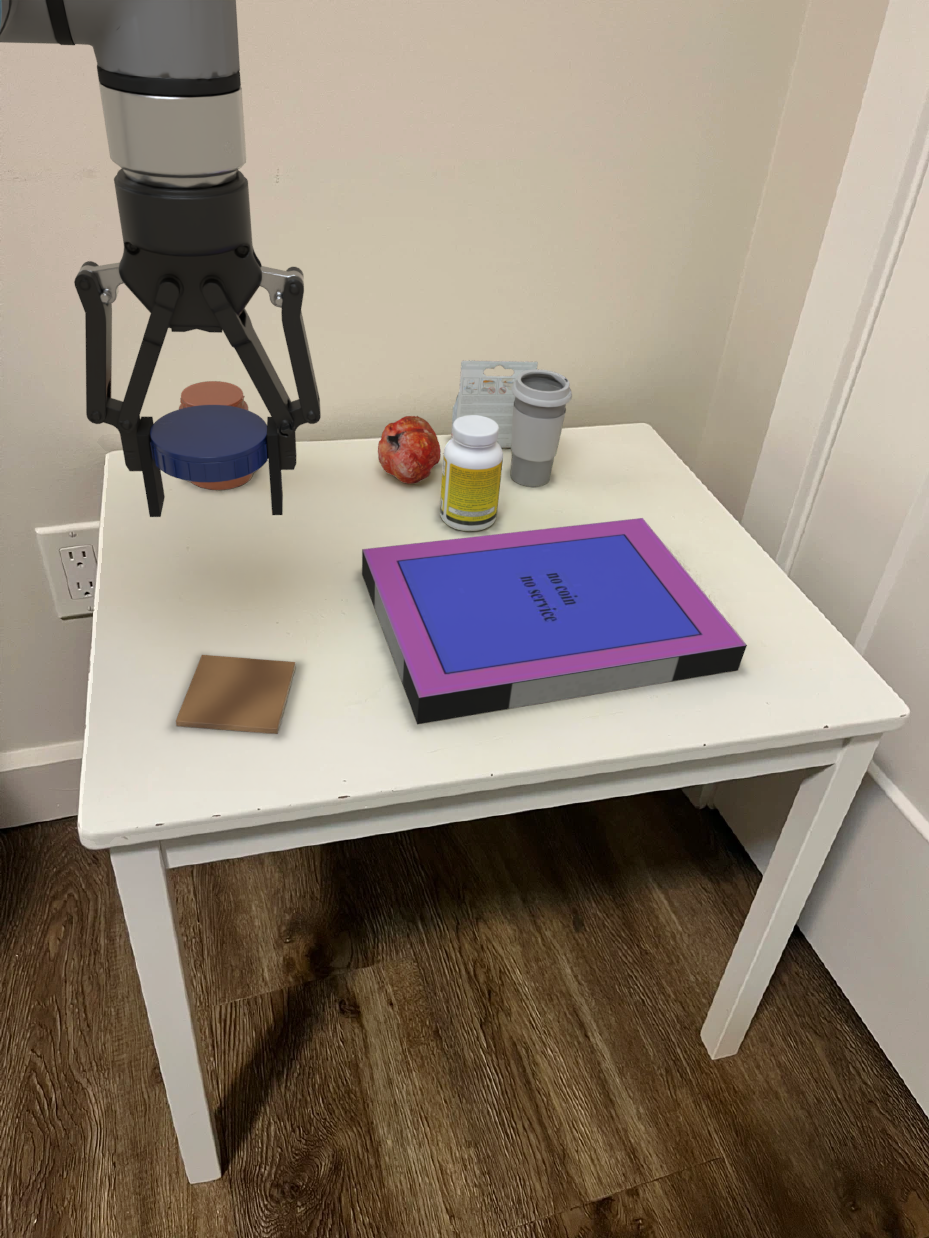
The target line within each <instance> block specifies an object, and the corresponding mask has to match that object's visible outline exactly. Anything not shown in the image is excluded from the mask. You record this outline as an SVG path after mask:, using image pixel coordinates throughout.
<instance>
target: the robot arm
mask: <svg viewBox="0 0 929 1238" xmlns="http://www.w3.org/2000/svg"><path fill="white" fill-rule="evenodd" d="M237 10H238V9H237V0H0V43H3V44H4V43H6V44H7V43H9V44H11V43H12V44H45V45H47V44H49V45H50V44H51V45H52V44H54V45H60V46H76V45H82V46H83V45H85V46H91V47H92V49H93V53H94V56H95V60H96V71H97V79H98V87H99V93H100V99H101V106H102V113H103V119H104V128H105V133H106V140H107V145H108V153H109V158H110V160H111V161H112V162H113V163H114V164H116V165H117V166H118V167H120V169H118V171H117V173H116V175H115V176H114V177H113V181H114V189H115V197H116V202H117V209H118V215H119V222H120V228H121V229H120V230H121V235H122V241H123V253H122V256H121V259H120V261H119V262H114V263H107V264H101V265H99V264H98V263H97V262H94V261H92V260H88V261H85V262H83V264H82V265H81V266H80V268H79V271H78V272H77V274H76V276H75V278H74V282H73V283H74V287H75V290H76V293H77V296H78V298H79V301H80V303H81V305H82V308H83V311H84V313H85V314H84V316H85V317H84V319H85V321H84V322H85V323H84V324H85V326H84V327H85V328H84V329H85V410H86V411H85V415H86V418H87V420H88V421H89V422H90V423H91V424H95V425H101V424H103V423H104V424H107V425H110V426H113V427H114V428H116V430H117V431H118V432H119V436H120V442H121V448H122V453H123V459H124V465H125V467H126V468H127V469H128V471H129V472H141V473H142V478H143V479H142V480H143V484H144V491H145V497H146V503H147V508H148V516H149V518H161V517H162V512H163V508H164V503H165V497H166V496H165V490H164V483H163V477H162V471H161V470H160V469H159V468H158V467H157V466H156V464H155V462H154V459H153V458H152V452H151V445H150V442H151V439H150V431H151V427H152V425H153V424H154V423H155V422H154V418H153V417H154V416H141V412H142V409H143V406H144V403H145V400H146V397H147V395H148V391H149V387H150V385H151V382H152V378H153V376H154V372H155V369H156V366H157V363H158V359H159V357H160V354H161V351H162V348H163V345H164V342H165V339H166V336H167V333H168V330H169V329H170V331H171V333H186V332H190V331H195V330H199V331H202V332H206V333H213V334H214V333H218V334H219V333H220V334H222V333H224V336H225V338H226V339H227V341H228V343H229V345H230V346H231V348H233V349H234V350H235V352H236V354H237V356H238V358H239V359H240V362H241V363H242V365H243V367H244V369H245V370H246V372H247V374H248V376H249V378H250V380H251V382H252V383H253V385H254V387H255V389H256V391H257V392H258V394H259V396H260V398H261V401H262V402H263V404H264V406H265V408H266V409H267V412H268V413H269V415H270V416H267V417H266V419H267V420H266V424H267V447H268V461H267V462H268V473H269V474H268V475H269V489H270V505H271V516H283V513H284V511H283V509H284V492H283V476H282V475H283V473H282V471H295V467H296V466H297V438H296V435H297V434H296V431H297V429H298V428H299V427H300V426H302V425H305V424H310V425H314V424H318V422H320V420H321V416H322V415H321V414H322V413H321V399H320V394H319V389H318V383H317V379H316V374H315V370H314V365H313V360H312V354H311V349H310V345H309V340H308V336H307V330H306V325H305V321H304V317H303V313H302V306H303V301H304V294H305V278H304V273H303V270H302V269H301V268H300V267H297V266H290V267H288V268H287V269H286V270H283V269H278V268H273V267H270V266H269V267H268V266H265V265H262V262H261V260H260V259H259V257H258V255H257V254H256V252H255V248H254V245H253V233H252V220H251V219H252V218H251V217H252V216H251V205H250V204H251V203H250V190H249V180H248V178H247V177H246V176H245V175H244V173H243V172H242V171H241V170H240V169H241V168H243V166H245V164H246V163H247V147H246V133H245V132H246V131H245V118H244V117H245V116H244V103H243V102H244V101H243V88H242V82H241V81H242V80H241V72H240V71H241V67H240V66H241V64H240V49H239V48H240V45H239V31H238V30H239V29H238V28H239V27H238V14H237V12H238V11H237ZM123 284H124V285H125V287H127V288H128V290H129V291H130V292H131V293H132V294H133V295H134V297H135V298H136V299H137V300H138V301H139V302H140V303H141V304H142V305H143V306H144V308H145V309H146V310H147V311H148V312H149V313H150V314H149V317H148V321H147V324H146V327H145V329H144V330H145V331H144V333H143V336H142V340H141V344H140V346H139V349H138V353H137V356H136V360H135V363H134V366H133V370H132V371H131V375H130V378H129V381H128V385H127V388H126V391H125V395H124V398H123V401H122V400H120V399H116V398H113V397H112V376H113V375H112V372H113V371H112V369H113V368H112V365H113V363H112V361H113V359H112V358H113V355H112V354H113V353H112V352H113V351H112V350H113V305H112V304H113V303H115V301H116V300H117V298H118V295H119V292H120V289H119V286H121V285H123ZM259 288H263V289H265V290H266V291H267V293H268V295H269V301H270V303H271V304H272V305H273V306H274V307H276V308H281V309H280V311H281V325H282V329H283V334H284V338H285V344H286V347H287V352H288V356H289V361H290V366H291V369H292V375H293V378H294V383H295V388H296V392H297V397H298V398H297V399H295V400H291V398H290V396H289V394H288V392H287V390H286V388H285V386H284V384H283V381H281V379H280V376H279V374H278V373H277V370H276V369H275V367H274V365H273V363H272V361H271V360H270V357H269V356H268V353H267V352H266V349H265V347H264V346H263V343H262V342H261V339H260V338H259V336H258V334H257V332H256V330H255V329H254V326H253V323H252V320H251V318H250V315H249V313H248V311H247V310H246V307H247V306H248V304H249V303H250V301H251V300H252V298H253V297H254V296H255V294H256V292H257V291H258V289H259Z"/></svg>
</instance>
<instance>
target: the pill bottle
mask: <svg viewBox="0 0 929 1238" xmlns="http://www.w3.org/2000/svg"><path fill="white" fill-rule="evenodd" d="M451 431H452V437H453V438H452V437H451V438H450V440H448V441H447V443H446V444H445V446H444V448H443V454H442V469H441V470H442V472H441V483H440V501H439V502H440V503H439V515H440V518H441V520H442V522H444V524H446V525H447V526H448V527H451V528H452V529H455V530H458V531H462V532H463V531H464V532H477V531H483V530H485V529H488V528H490V527H491V526H493V524H494V523H495V522H496V519H497V515H498V506H499V500H500V499H499V498H500V490H501V489H500V488H501V480H502V471H503V460H504V452H503V448H501V447H500V445H499V444H498V443H497V439H498V432H499V427H498V424H497V423H496V422H495V421H493V420H492V419H490V418H487V417H484V416H478V415H467V416H462V417H459V418H457V419H456V420H455V421H454V423H453V429H452V428H451Z"/></svg>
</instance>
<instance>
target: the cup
mask: <svg viewBox="0 0 929 1238" xmlns="http://www.w3.org/2000/svg"><path fill="white" fill-rule="evenodd" d="M570 386H571V383H570V380H569V379H568V378H567V377H566V376H564V375H563V374H560V373H559V372H556V371H553V370H548V369H541V368H539V369H538V368H537V369H533V370H526V371H523V372H521V373H520V374H519V375H518V376H517V380H516V381H515V382H514V383H513V385H512V388H511V391H512V393H513V394H514V396H515V401H514V404H513V422H512V439H511V448H510V450H511V459H510V460H511V461H510V473H509V475H510V478H511V479H512V481H513V482H515V483H516V484H519V485H520V486H524V487H528V488H529V487H530V488H538V487H543V486H545V485H547V484H548V483H549V482H550V480H551V475H552V471H553V465H554V461H555V458H556V456H557V454H558V453H557V452H558V449H559V444H560V440H561V435H562V430H563V426H564V421H565V418H566V417H565V416H566V412H567V408H566V406H567V404H569V403H570V402H571V401H572V400H573V399H572V398H573V392H572V389H571V388H570Z"/></svg>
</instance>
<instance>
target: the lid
mask: <svg viewBox="0 0 929 1238" xmlns="http://www.w3.org/2000/svg"><path fill="white" fill-rule="evenodd" d="M248 410H249V409H248ZM248 410H245V409H242V408H238V407H233V406H226V405H199V406H192V407H186V408H182V409H179V408H178V409H176V410H173V411H170V412H168V413H166V414H164V415H163V416H161V417H159V418H158V419H157V420H156V421H154V422H153V423H154V424H153V425H152V427H151V431H150V439H151V442H150V445H151V452H152V458H153V459H154V462H155V464H156V466H157V467H158V468H159V469H160V470H161V472H163V473H164V474H166V475H168V476H170V477H172V478H175V479H178V480H181V481H187V482H190V481H192V482H222V481H229V480H234V479H238V478H241V477H244V476H247V475H249V474H251V473H253V474H254V473H255V472H257V471H258V470H260V469H261V468H262V467H264V466H265V465H266V463H267V462H268V447H267V422H266V421H265V420H264V418H263V417H261V416H260V415H258V414H256V413H255V412H253V411H251V410H249V411H248Z"/></svg>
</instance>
